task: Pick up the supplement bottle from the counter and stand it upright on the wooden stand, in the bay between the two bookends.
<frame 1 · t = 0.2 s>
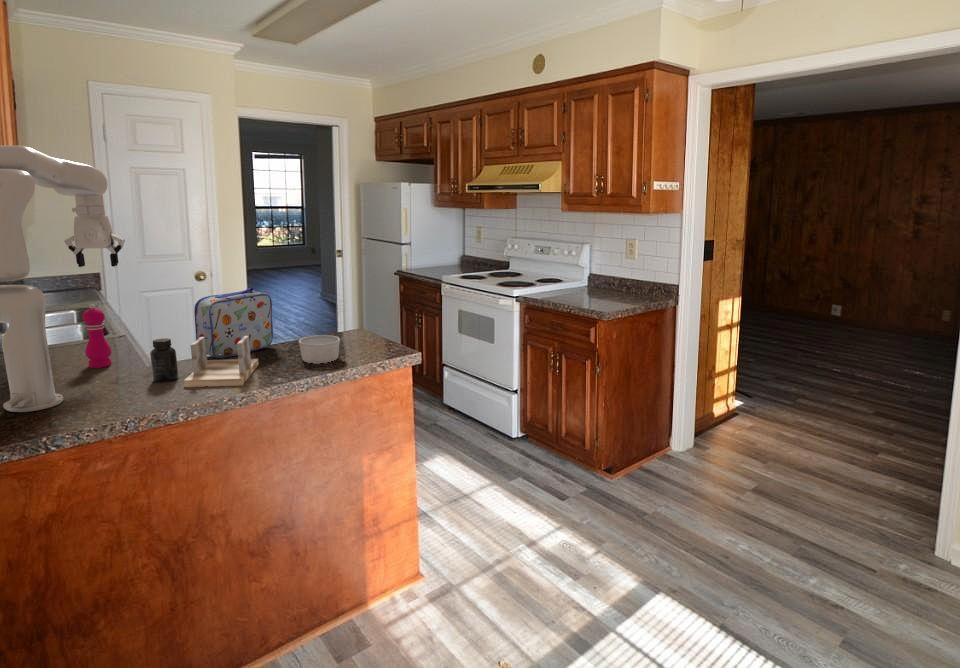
hand: (98, 266, 204), 31 cm above the counter, tool pointing down, fingers open, 9 cm apart
supplement bottle: (166, 379, 190), on the counter
ramekin: (320, 360, 212), on the counter
wooden stand: (223, 375, 194), on the counter
lunch box: (239, 353, 221), on the counter
pepper mill: (100, 366, 204), on the counter
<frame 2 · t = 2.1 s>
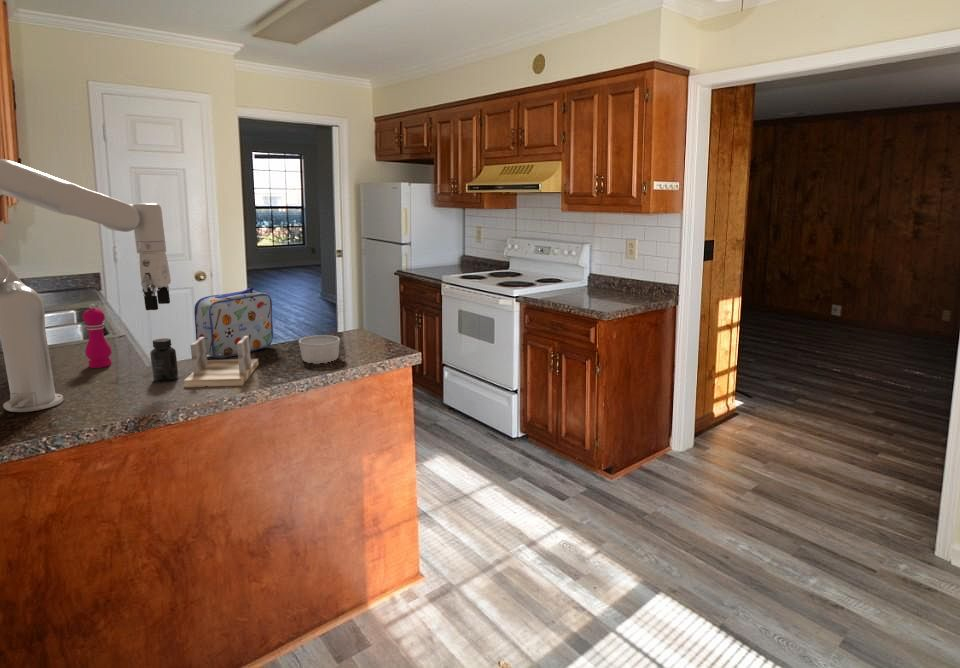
hand: (158, 306, 185), 22 cm above the counter, tool pointing down, fingers open, 9 cm apart
nothing on the counter moved.
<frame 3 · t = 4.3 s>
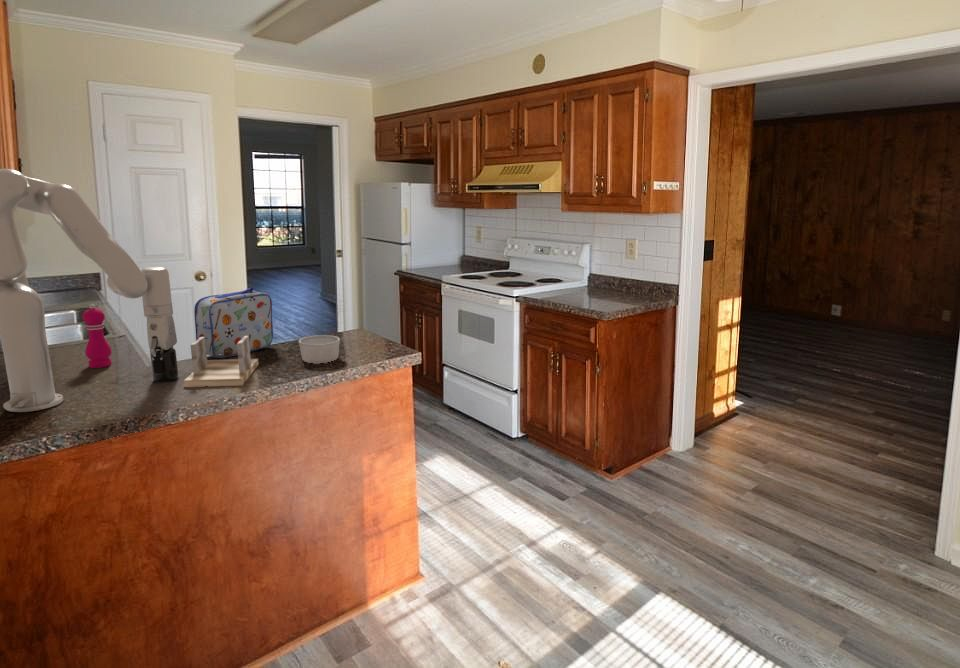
hand: (165, 368, 189), 3 cm above the counter, tool pointing down, fingers closed on supplement bottle, 6 cm apart
supplement bottle: (166, 379, 190), on the counter, touching gripper
everything else where it was.
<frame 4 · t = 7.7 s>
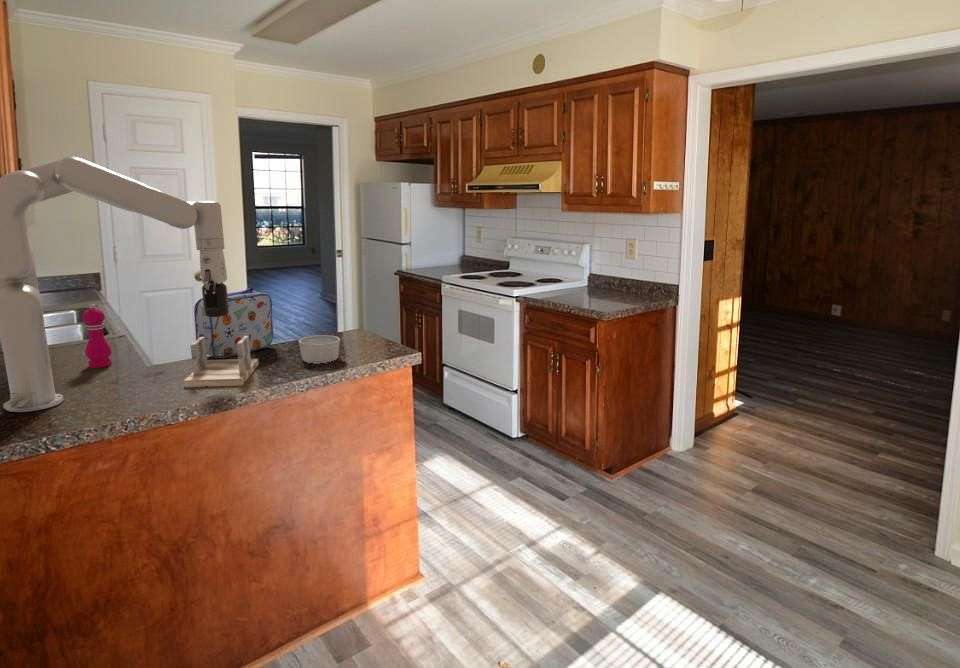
hand: (215, 304, 189), 22 cm above the counter, tool pointing down, fingers closed on supplement bottle, 6 cm apart
supplement bottle: (216, 315, 190), point 18 cm above the counter, touching gripper
everything else where it was.
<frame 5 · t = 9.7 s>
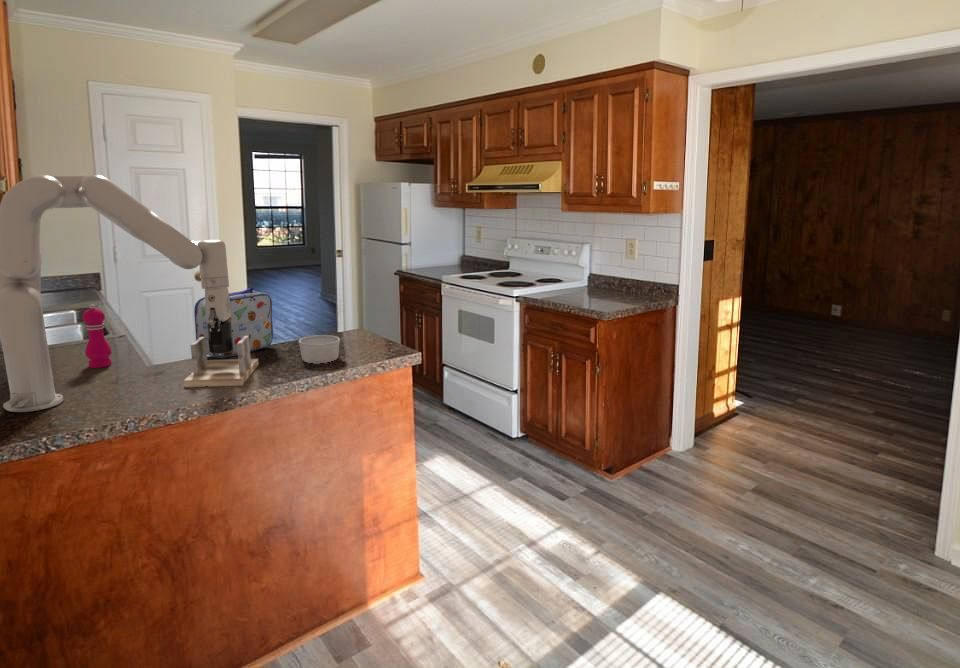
hand: (220, 340, 192), 11 cm above the counter, tool pointing down, fingers closed on supplement bottle, 6 cm apart
supplement bottle: (221, 351, 192), point 7 cm above the counter, touching gripper
everything else where it was.
when the fingers open (7 cm above the counter, at t = 11.5 s): supplement bottle drops 2 cm, resting on wooden stand.
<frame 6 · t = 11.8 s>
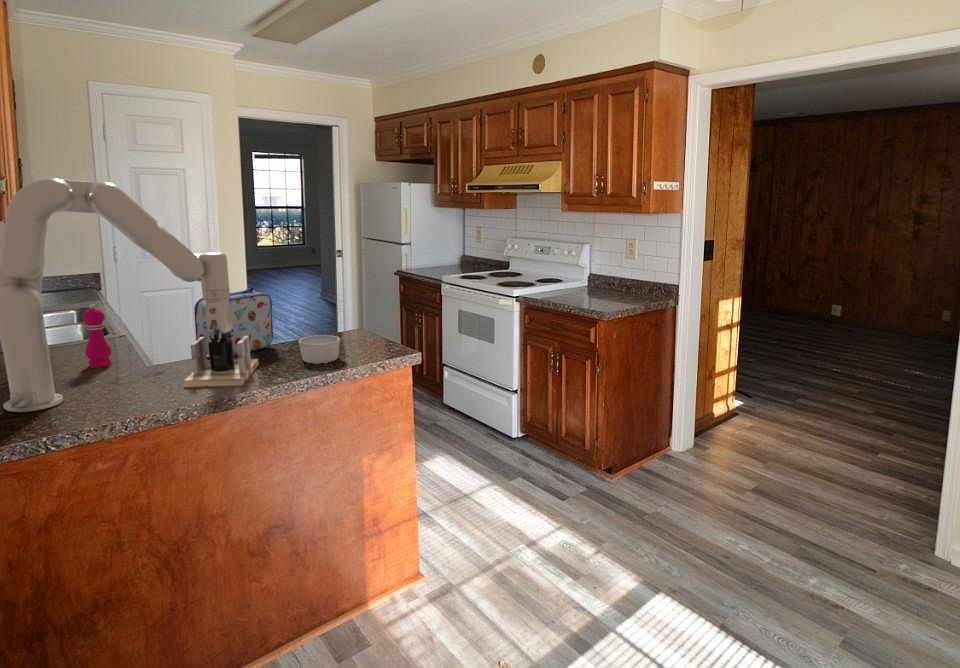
hand: (221, 350, 192), 8 cm above the counter, tool pointing down, fingers open, 9 cm apart
supplement bottle: (223, 369, 194), point 2 cm above the counter, touching wooden stand
everything else where it was.
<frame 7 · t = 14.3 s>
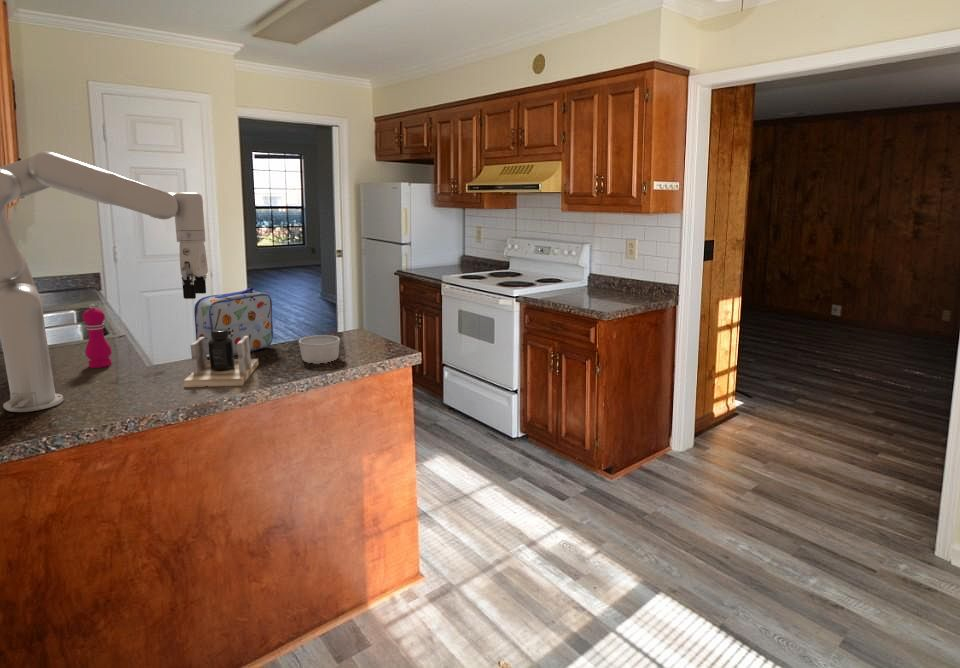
hand: (195, 295, 186), 25 cm above the counter, tool pointing down, fingers open, 9 cm apart
nothing on the counter moved.
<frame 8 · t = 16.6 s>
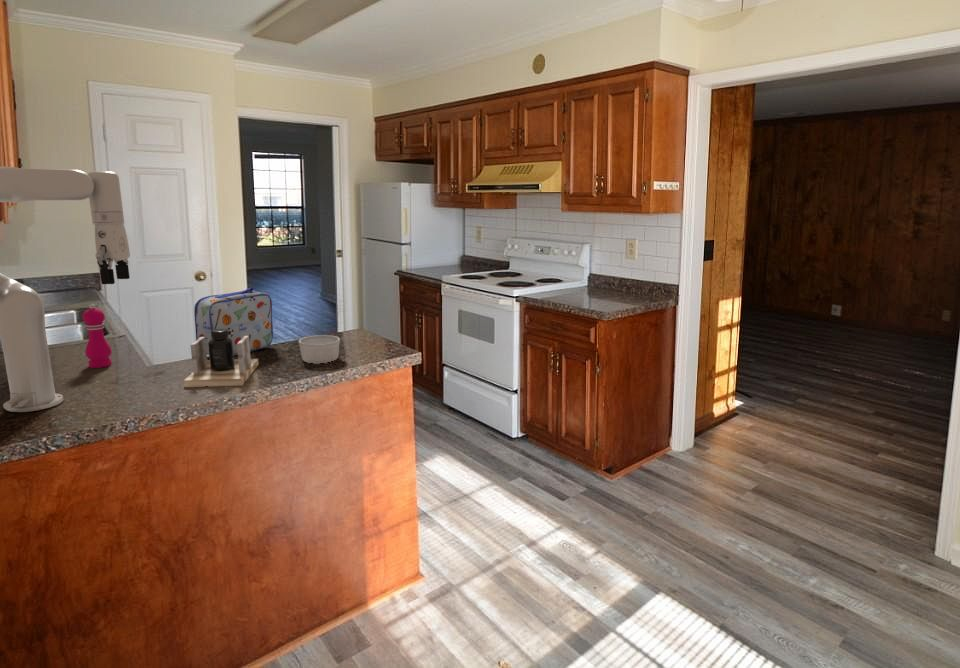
hand: (116, 281, 177), 30 cm above the counter, tool pointing down, fingers open, 9 cm apart
nothing on the counter moved.
at the end: supplement bottle inside the target area on the wooden stand (0.4 cm from its centre), point 1.8 cm above the wooden stand's base; supplement bottle tilted 0°; the gripper is holding nothing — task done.
